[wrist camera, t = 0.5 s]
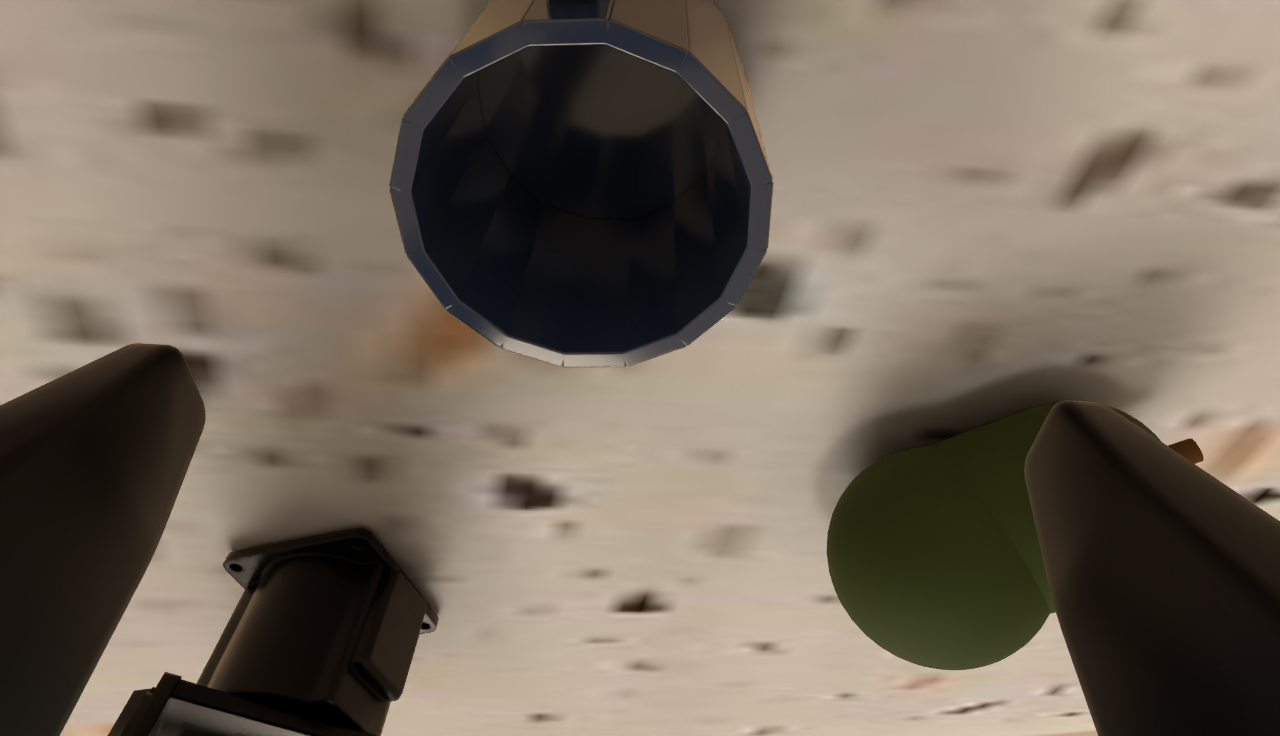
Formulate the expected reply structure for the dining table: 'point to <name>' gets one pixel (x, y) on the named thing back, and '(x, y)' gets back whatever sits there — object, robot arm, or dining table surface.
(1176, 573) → the robot arm
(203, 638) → the dining table surface
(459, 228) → the blue coffee mug
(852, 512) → the avocado
